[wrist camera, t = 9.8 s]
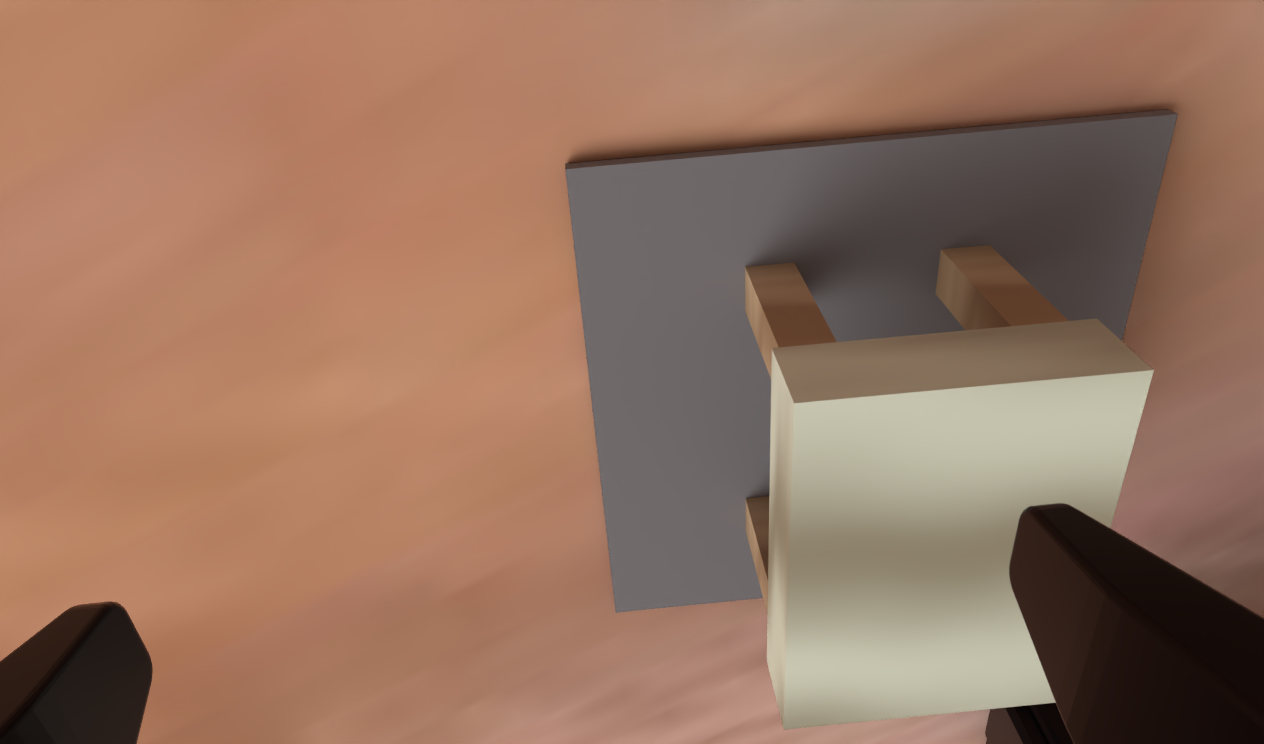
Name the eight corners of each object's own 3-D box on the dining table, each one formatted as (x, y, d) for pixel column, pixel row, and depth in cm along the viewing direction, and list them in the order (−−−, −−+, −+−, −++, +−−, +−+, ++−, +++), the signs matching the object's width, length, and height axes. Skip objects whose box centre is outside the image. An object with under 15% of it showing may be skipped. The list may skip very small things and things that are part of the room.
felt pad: (1167, 109, 21) (1177, 113, 20) (1059, 558, 28) (1066, 567, 27) (565, 163, 20) (565, 169, 20) (614, 602, 28) (616, 612, 27)
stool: (956, 518, 26) (1062, 702, 21) (737, 539, 26) (783, 729, 20) (1001, 232, 21) (1153, 370, 16) (734, 256, 21) (794, 403, 16)
